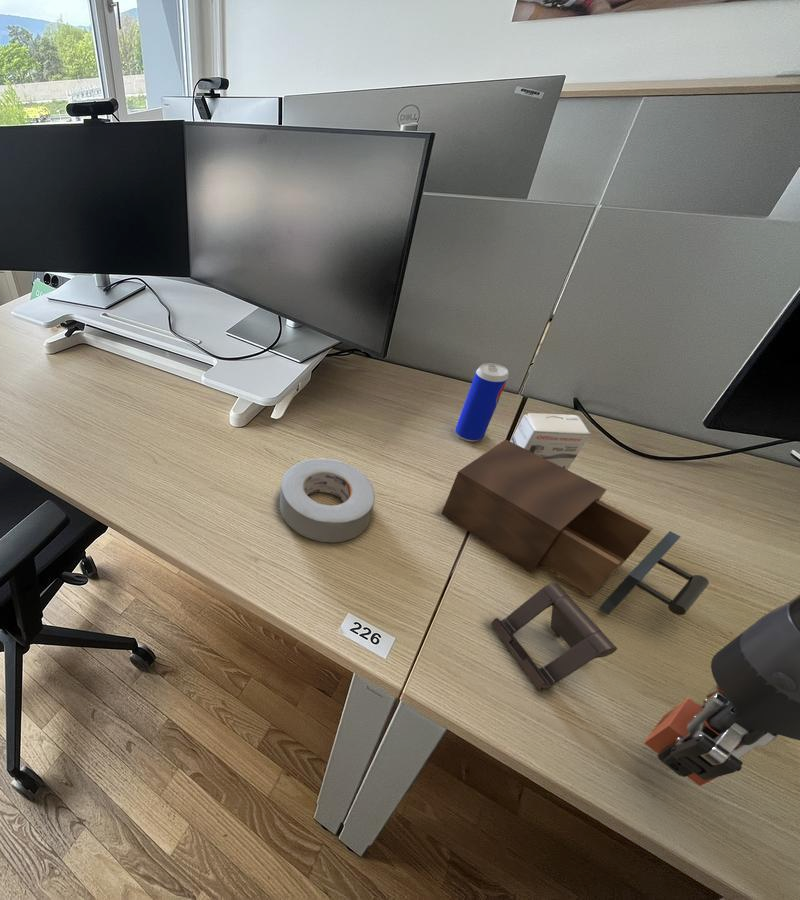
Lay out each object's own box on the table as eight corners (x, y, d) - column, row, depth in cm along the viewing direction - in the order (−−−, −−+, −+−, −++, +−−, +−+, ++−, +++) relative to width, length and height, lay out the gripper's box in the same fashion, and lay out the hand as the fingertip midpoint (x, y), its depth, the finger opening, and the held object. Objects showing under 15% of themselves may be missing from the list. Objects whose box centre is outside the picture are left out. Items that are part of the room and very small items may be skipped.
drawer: (691, 596, 63) (730, 561, 57) (653, 644, 58) (691, 611, 53) (548, 514, 75) (569, 479, 70) (507, 549, 70) (527, 514, 65)
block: (718, 756, 46) (749, 739, 43) (699, 786, 44) (730, 770, 41) (663, 715, 49) (688, 697, 46) (643, 743, 47) (668, 725, 44)
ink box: (507, 482, 82) (534, 429, 75) (498, 463, 86) (522, 411, 78) (561, 485, 81) (594, 432, 73) (549, 466, 85) (579, 413, 77)
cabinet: (575, 533, 73) (606, 489, 67) (531, 573, 68) (560, 530, 62) (486, 481, 83) (505, 439, 76) (441, 513, 78) (458, 471, 71)
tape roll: (374, 488, 83) (380, 467, 80) (364, 553, 73) (369, 532, 69) (290, 470, 88) (292, 450, 85) (269, 529, 78) (270, 508, 74)
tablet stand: (487, 625, 62) (509, 590, 57) (539, 613, 63) (566, 577, 58) (536, 691, 56) (566, 659, 50) (593, 677, 57) (630, 643, 51)
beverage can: (484, 444, 90) (513, 378, 81) (455, 441, 92) (480, 375, 82) (480, 428, 94) (507, 363, 84) (453, 425, 95) (476, 361, 86)
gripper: (857, 777, 30) (699, 839, 41) (911, 654, 36) (759, 737, 46) (709, 681, 35) (603, 758, 46) (776, 586, 41) (668, 676, 52)
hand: (682, 747), depth 46 cm, fingers closed on block, 4 cm apart
